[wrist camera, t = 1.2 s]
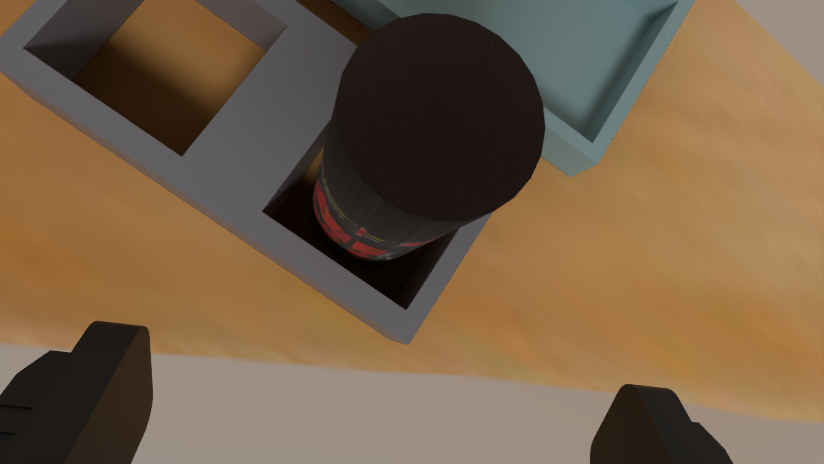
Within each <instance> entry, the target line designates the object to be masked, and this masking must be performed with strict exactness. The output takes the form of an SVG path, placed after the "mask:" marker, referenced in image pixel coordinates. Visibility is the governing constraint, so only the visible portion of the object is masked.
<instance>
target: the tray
mask: <svg viewBox="0 0 824 464" xmlns="http://www.w3.org/2000/svg"><path fill="white" fill-rule="evenodd" d="M331 1H332V2H333V3H335V4H336V5H338V6H339V7H340V8H342V9H343V10H344V11H346V12H347V13H348V14H350V15H351V16H352V17H354V18H355V19H356V20H358V21H359V22H361V23H362V24H363V25H365V26H366V27H367V28H369V29H370V30H371V31H373V32H374V31H375V30H377V29H379V28H381V27H383V26H384V25H386V24H388V23H390V22H392V21H394V20H396V19H398V18H403V17H407V16H412V15H416V14H421V13H436V14H451V15H455V16H458V17H461V18H465V19H468V20H471V21H474V22H477V23H479V24H480V25H482V26H484V27H485V28H487V29H489V30H491V31H492V32H494V33H496V34H497V35H499V36H500V37H501V38H502V39H503V40H504V41H506V42H507V43H508V44H509V45H510V46H511V47H512V48H513V49H514V50H515V51H516V52H517V53H518V54H519V55H520V56H521V58H522V59H523V61H524V63H525V64H526V66H527V67H528V69H529V70H530V72H531V73H532V75H533V76H534V78H535V81H536V84H537V87H538V90H539V93H540V95H541V98H542V101H543V108H544V118H545V128H546V129H545V135H544V142H543V148H542V154H541V156H542V157H543V158H545V159H546V160H547V161H549V162H550V163H551V164H553V165H554V166H556V167H557V168H558V169H560V170H561V171H562V172H564V173H565V174H566V175H568V176H569V177H572V176H574V175H576V174H578V173H580V172H582V171H584V170H586V169H589V168H591V167H593V166H595V165H597V164H598V163H599V161H600V159H601V158H602V156H603V154H604V153H605V151H606V149H607V147H608V146H609V144H610V142H611V141H612V139H613V137H614V136H615V134H616V132H617V131H618V129H619V127H620V126H621V124H622V122H623V121H624V119H625V117H626V116H627V114H628V112H629V110H630V109H631V107H632V105H633V104H634V102H635V100H636V99H637V97H638V95H639V94H640V92H641V90H642V89H643V87H644V85H645V84H646V82H647V80H648V79H649V77H650V75H651V74H652V72H653V70H654V68H655V67H656V65H657V63H658V62H659V60H660V58H661V57H662V55H663V53H664V52H665V50H666V48H667V47H668V45H669V43H670V42H671V40H672V38H673V37H674V35H675V33H676V32H677V30H678V28H679V26H680V25H681V23H682V21H683V20H684V18H685V16H686V15H687V13H688V11H689V10H690V8H691V6H692V5H693V3H694V1H695V0H331Z"/></svg>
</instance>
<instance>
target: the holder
mask: <svg viewBox="0 0 824 464" xmlns="http://www.w3.org/2000/svg"><path fill="white" fill-rule="evenodd" d="M143 1H144V0H36V1H35V2H34V3H33V4H32V5H31V6H30V7H29V8H28V9H27V10H26V11H25V12H24V13H23V14H22V15H21V16H20V18H19V19H18V20H17V21H16V22H15V23H14V24H13V25H12V26H11V27H10V28H9V29H8V30H7V31H6V32H5V33H4V34H3V35H2V36H1V37H0V72H1V73H2V74H3V75H5V76H6V77H7V78H8V79H9V80H11V81H12V82H13V83H14V84H15V85H17V86H18V87H19V88H20V89H21V90H22V91H24V92H25V93H26V94H27V95H28V96H30V97H31V98H32V99H34V100H35V101H37V102H38V103H40V104H41V105H43V106H44V107H46V108H47V109H49V110H50V111H52V112H53V113H55V114H56V115H58V116H59V117H61V118H62V119H64V120H65V121H67V122H68V123H69V124H71V125H72V126H74V127H75V128H77V129H78V130H80V131H81V132H83V133H84V134H86V135H87V136H89V137H90V138H92V139H93V140H95V141H96V142H98V143H99V144H101V145H102V146H104V147H105V148H106V149H108V150H109V151H111V152H112V153H114V154H115V155H117V156H118V157H120V158H121V159H123V160H124V161H126V162H127V163H129V164H130V165H132V166H133V167H135V168H136V169H138V170H139V171H141V172H142V173H143V174H145V175H146V176H148V177H149V178H151V179H152V180H154V181H155V182H157V183H158V184H160V185H161V186H163V187H164V188H166V189H167V190H169V191H170V192H172V193H173V194H175V195H176V196H178V197H179V198H180V199H182V200H183V201H185V202H186V203H188V204H189V205H191V206H192V207H194V208H195V209H197V210H198V211H200V212H201V213H203V214H204V215H206V216H207V217H209V218H210V219H212V220H213V221H215V222H216V223H217V224H219V225H220V226H222V227H223V228H225V229H226V230H228V231H229V232H231V233H232V234H234V235H235V236H237V237H238V238H240V239H241V240H243V241H244V242H246V243H247V244H249V245H250V246H252V247H253V248H254V249H256V250H257V251H259V252H260V253H262V254H263V255H265V256H266V257H268V258H269V259H271V260H272V261H274V262H275V263H277V264H278V265H280V266H281V267H283V268H284V269H286V270H287V271H289V272H290V273H291V274H293V275H294V276H296V277H297V278H299V279H300V280H302V281H303V282H305V283H306V284H308V285H309V286H311V287H312V288H314V289H315V290H317V291H318V292H320V293H321V294H323V295H324V296H326V297H327V298H328V299H330V300H331V301H333V302H334V303H336V304H337V305H339V306H340V307H342V308H343V309H345V310H346V311H348V312H349V313H351V314H352V315H354V316H355V317H357V318H358V319H360V320H361V321H363V322H364V323H365V324H367V325H368V326H370V327H371V328H373V329H374V330H376V331H377V332H379V333H380V334H382V335H383V336H385V337H386V338H388V339H389V340H391V341H395V342H399V343H402V344H406V345H409V343H410V342H411V340H412V338H413V337H414V335H415V334H416V332H417V331H418V329H419V327H420V326H421V324H422V323H423V321H424V320H425V318H426V316H427V315H428V313H429V312H430V310H431V308H432V307H433V305H434V304H435V302H436V301H437V299H438V297H439V296H440V294H441V293H442V291H443V290H444V288H445V286H446V285H447V283H448V282H449V280H450V278H451V277H452V275H453V274H454V272H455V271H456V269H457V267H458V266H459V264H460V263H461V261H462V260H463V258H464V256H465V255H466V253H467V252H468V250H469V248H470V247H471V245H472V244H473V242H474V241H475V239H476V237H477V236H478V234H479V233H480V231H481V230H482V228H483V226H484V225H485V223H486V222H487V220H488V218H489V217H490V215H491V214H492V213H490V214H487V215H485V216H483V217H481V218H479V219H477V220H475V221H473V222H471V223H469V224H467V225H465V226H463V227H460V228H458V229H456V230H454V231H452V232H450V233H448V234H446V235H444V236H442V237H440V238H438V239H435V241H434V242H433V244H432V245H431V247H430V248H429V250H428V251H427V253H426V254H425V256H424V257H423V259H422V260H421V262H420V264H419V265H418V267H417V268H416V270H415V271H414V273H413V274H412V276H411V277H410V279H409V280H408V282H407V283H406V285H405V287H404V288H403V290H402V291H401V293H400V294H399V296H398V297H397V299H396V300H395V302H393V301H392V300H390V299H389V298H387V297H386V296H384V295H383V294H381V293H380V292H378V291H377V290H375V289H374V288H373V287H371V286H370V285H368V284H367V283H365V282H364V281H362V280H361V279H359V278H358V277H356V276H355V275H354V274H352V273H351V272H349V271H348V270H346V269H345V268H343V267H342V266H340V265H339V264H338V263H336V262H335V261H333V260H332V259H330V258H329V257H327V256H326V255H324V254H323V253H321V252H320V251H319V250H317V249H316V248H314V247H313V246H311V245H310V244H308V243H307V242H305V241H304V240H302V239H301V238H300V237H298V236H297V235H295V234H294V233H292V232H291V231H289V230H288V229H286V228H285V227H283V226H282V225H281V224H279V223H278V222H276V221H275V220H273V219H272V217H273V215H274V214H275V213H276V211H277V210H278V209H279V207H280V206H281V205H282V203H283V202H284V200H285V199H286V198H287V196H288V195H289V194H290V192H291V191H292V190H293V188H294V187H295V186H296V184H297V183H298V182H299V180H300V179H301V178H302V176H303V175H304V173H305V172H306V171H307V169H308V168H309V167H310V165H311V164H312V163H313V161H314V160H315V159H316V157H317V156H318V155H319V153H320V152H321V151H322V149H323V148H324V147H325V143H326V138H327V134H328V130H329V126H330V122H331V117H332V113H333V109H334V105H335V101H336V97H337V92H338V88H339V84H340V80H341V76H342V72H343V70H344V69H345V67H346V65H347V63H348V61H349V60H350V58H351V56H352V54H353V53H354V51H355V49H356V48H357V47H358V46H357V45H355V44H354V43H353V42H351V41H350V40H349V39H347V38H346V37H344V36H343V35H342V34H340V33H339V32H338V31H336V30H335V29H334V28H332V27H331V26H329V25H328V24H327V23H325V22H324V21H323V20H321V19H320V18H319V17H317V16H316V15H314V14H313V13H312V12H310V11H309V10H308V9H306V8H305V7H304V6H302V5H301V4H299V3H298V2H297V1H295V0H196V1H197V2H198V3H200V4H201V5H203V6H204V7H205V8H207V9H208V10H209V11H211V12H212V13H214V14H215V15H216V16H218V17H219V18H221V19H222V20H223V21H225V22H226V23H228V24H229V25H230V26H232V27H233V28H235V29H236V30H237V31H239V32H240V33H242V34H243V35H244V36H246V37H247V38H248V39H250V40H251V41H253V42H254V43H255V44H257V45H258V46H260V47H261V48H262V49H264V50H265V51H267V52H266V54H265V55H264V56H263V57H262V59H261V60H260V61H259V62H258V63H257V65H256V66H255V67H254V68H253V70H252V71H251V72H250V73H249V75H248V76H247V77H246V78H245V80H244V81H243V82H242V83H241V84H240V86H239V87H238V88H237V89H236V91H235V92H234V93H233V94H232V96H231V97H230V98H229V99H228V101H227V102H226V103H225V104H224V105H223V107H222V108H221V109H220V110H219V112H218V113H217V114H216V115H215V117H214V118H213V119H212V120H211V121H210V123H209V124H208V125H207V126H206V128H205V129H204V130H203V131H202V133H201V134H200V135H199V136H198V138H197V139H196V140H195V141H194V142H193V144H192V145H191V146H190V147H189V149H188V150H187V151H186V152H185V154H184V155H183V156H182V157H181V156H180V155H178V154H177V153H175V152H174V151H172V150H171V149H169V148H168V147H167V146H165V145H164V144H162V143H161V142H159V141H158V140H156V139H155V138H153V137H152V136H150V135H149V134H148V133H146V132H145V131H143V130H142V129H140V128H139V127H137V126H136V125H134V124H133V123H131V122H130V121H129V120H127V119H126V118H124V117H123V116H121V115H120V114H118V113H117V112H115V111H114V110H112V109H111V108H110V107H108V106H107V105H105V104H104V103H102V102H101V101H99V100H98V99H96V98H95V97H93V96H92V95H91V94H89V93H88V92H86V91H85V90H83V89H82V88H80V87H79V86H77V85H76V84H74V83H73V82H72V81H71V80H72V79H73V78H74V77H75V76H76V75H77V74H78V73H79V72H80V70H81V69H82V68H83V67H84V66H85V65H86V64H87V63H88V62H89V61H90V59H91V58H92V57H93V56H94V55H95V54H96V53H97V52H98V51H99V49H100V48H101V47H102V46H103V45H104V44H105V43H106V42H107V41H108V39H109V38H110V37H111V36H112V35H113V34H114V33H115V32H116V31H117V29H118V28H119V27H120V26H121V25H122V24H123V23H124V22H125V21H126V20H127V18H128V17H129V16H130V15H131V14H132V13H133V12H134V11H135V10H136V8H137V7H138V6H139V5H140V4H141V3H142V2H143Z"/></svg>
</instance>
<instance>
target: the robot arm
mask: <svg viewBox="0 0 824 464" xmlns="http://www.w3.org/2000/svg"><path fill="white" fill-rule="evenodd" d="M152 401H153V385H152V368H151V352H150V336H149V331H148V328H147V327H145V326H138V325H129V324H121V323H112V322H103V321H94V322H93V323H92V324H91V325H89V327H88V328H87V329H86V331H85V332H84V334H83V335H82V337H81V338H80V340H79V341H78V343H77V344H76V346H75V347H74V349H73V350H72V352H71V353H70V352H61V351H51V350H50V351H49V352H48V353H46V354H44V355H43V356H42V357H40V358H39V359H37V360H36V361H34V362H33V363H32V364H30V365H29V366H27V367H26V368H24V369H23V370H21V371H20V372H19V373H17V374H16V375H15V377H14V378H13V379H12V381H11V382H10V383H9V385H8V386H7V387H6V388H5V390H4V391H3V392H2V394H1V395H0V464H131V462H132V460H133V457H134V455H135V453H136V451H137V449H138V446H139V444H140V442H141V440H142V437H143V435H144V433H145V430H146V427H147V424H148V421H149V417H150V413H151V408H152ZM590 464H733V462H732V461H731V459H730V457H729V456H728V454H727V452H726V450H725V449H724V448H723V447H722V446H721V445H720V444H719V443H718V442H717V441H716V440H715V439H714V438H713V437H712V436H711V435H710V434H709V433H708V432H707V431H706V430H705V429H704V427H703V426H702V425H700V423H696V422H691V420H690V418H689V416H688V414H687V413H686V411H685V409H684V407H683V405H682V404H681V402H680V400H679V398H678V397H677V395H676V394H675V393H674V392H673V391H672V390H670V389H668V388H659V387H651V386H642V385H633V384H626V385H624V386H622V387H621V388H620V390H619V391H618V393H617V395H616V397H615V399H614V401H613V403H612V405H611V407H610V409H609V410H608V412H607V414H606V416H605V418H604V420H603V422H602V424H601V426H600V428H599V430H598V431H597V433H596V435H595V437H594V439H593V442H592V445H591V451H590Z"/></svg>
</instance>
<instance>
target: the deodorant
mask: <svg viewBox="0 0 824 464" xmlns="http://www.w3.org/2000/svg"><path fill="white" fill-rule="evenodd" d="M545 129H546V128H545V118H544V108H543V101H542V98H541V95H540V93H539V90H538V87H537V84H536V81H535V78H534V76H533V75H532V73H531V72H530V70H529V69H528V67H527V66H526V64H525V63H524V61H523V59H522V58H521V56H520V55H519V54H518V53H517V52H516V51H515V50H514V49H513V48H512V47H511V46H510V45H509V44H508V43H507V42H506V41H504V40H503V39H502V38H501V37H500V36H499V35H497V34H496V33H494V32H492V31H491V30H489V29H487V28H485V27H484V26H482V25H480V24H479V23H477V22H474V21H471V20H468V19H465V18H461V17H458V16H455V15H451V14H436V13H421V14H416V15H412V16H407V17H403V18H398V19H396V20H394V21H392V22H390V23H388V24H386V25H384V26H383V27H381V28H379V29H377V30H375V31H374V32H373V33H372V34H371V35H370V36H368V37H367V38H366V39H365V40H364V41H363V42H362V43H361V44H360V45H359V46H358V47H357V48H356V49H355V51H354V53H353V54H352V56H351V58H350V60H349V61H348V63H347V65H346V67H345V69H344V70H343V72H342V76H341V80H340V84H339V88H338V92H337V97H336V101H335V105H334V109H333V113H332V117H331V122H330V126H329V130H328V134H327V138H326V143H325V147H324V151H323V155H322V159H321V164H320V168H319V172H318V176H317V180H316V185H315V189H314V193H313V197H312V202H311V211H312V220H313V223H314V226H315V229H316V232H317V234H318V236H319V237H320V239H321V240H322V242H323V243H324V245H325V246H326V247H327V248H329V249H330V250H331V251H332V252H333V253H334V254H335V255H336V256H338V257H340V258H342V259H344V260H346V261H348V262H351V263H356V264H360V265H379V264H382V263H385V262H388V261H391V260H394V259H396V258H398V257H400V256H402V255H404V254H406V253H408V252H410V251H413V250H415V249H417V248H419V247H421V246H423V245H425V244H427V243H429V242H431V241H433V240H435V239H438V238H440V237H442V236H444V235H446V234H448V233H450V232H452V231H454V230H456V229H458V228H460V227H463V226H465V225H467V224H469V223H471V222H473V221H475V220H477V219H479V218H481V217H483V216H485V215H487V214H490V213H492V212H493V211H495V210H496V209H498V208H499V207H501V206H502V205H504V204H505V203H507V202H508V201H510V200H511V199H513V198H514V197H515V196H516V195H517V194H518V192H519V191H520V190H521V189H522V188H523V186H524V185H525V184H526V183H527V182H528V181H529V179H530V178H531V176H532V174H533V172H534V170H535V168H536V165H537V163H538V161H539V159H540V156H541V154H542V148H543V142H544V135H545Z"/></svg>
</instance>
